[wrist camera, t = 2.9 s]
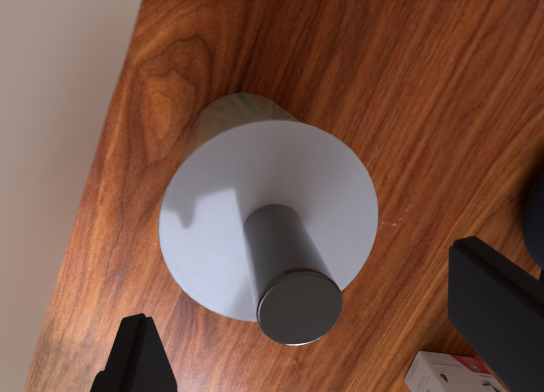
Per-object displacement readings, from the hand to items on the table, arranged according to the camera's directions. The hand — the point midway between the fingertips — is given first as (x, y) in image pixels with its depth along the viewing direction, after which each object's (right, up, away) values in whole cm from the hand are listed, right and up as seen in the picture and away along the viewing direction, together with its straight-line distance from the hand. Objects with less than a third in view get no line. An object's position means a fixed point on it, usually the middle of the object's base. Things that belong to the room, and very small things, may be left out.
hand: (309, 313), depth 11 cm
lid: (-1, +2, +6) cm, 6 cm away
